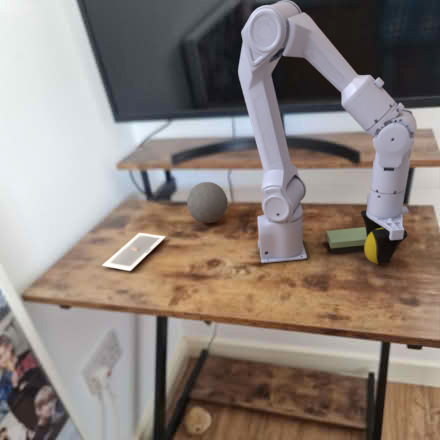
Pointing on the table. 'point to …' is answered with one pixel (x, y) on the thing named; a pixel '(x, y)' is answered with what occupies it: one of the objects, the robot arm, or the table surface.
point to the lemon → (371, 248)
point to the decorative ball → (207, 202)
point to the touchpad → (134, 251)
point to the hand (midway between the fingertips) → (378, 253)
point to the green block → (346, 240)
